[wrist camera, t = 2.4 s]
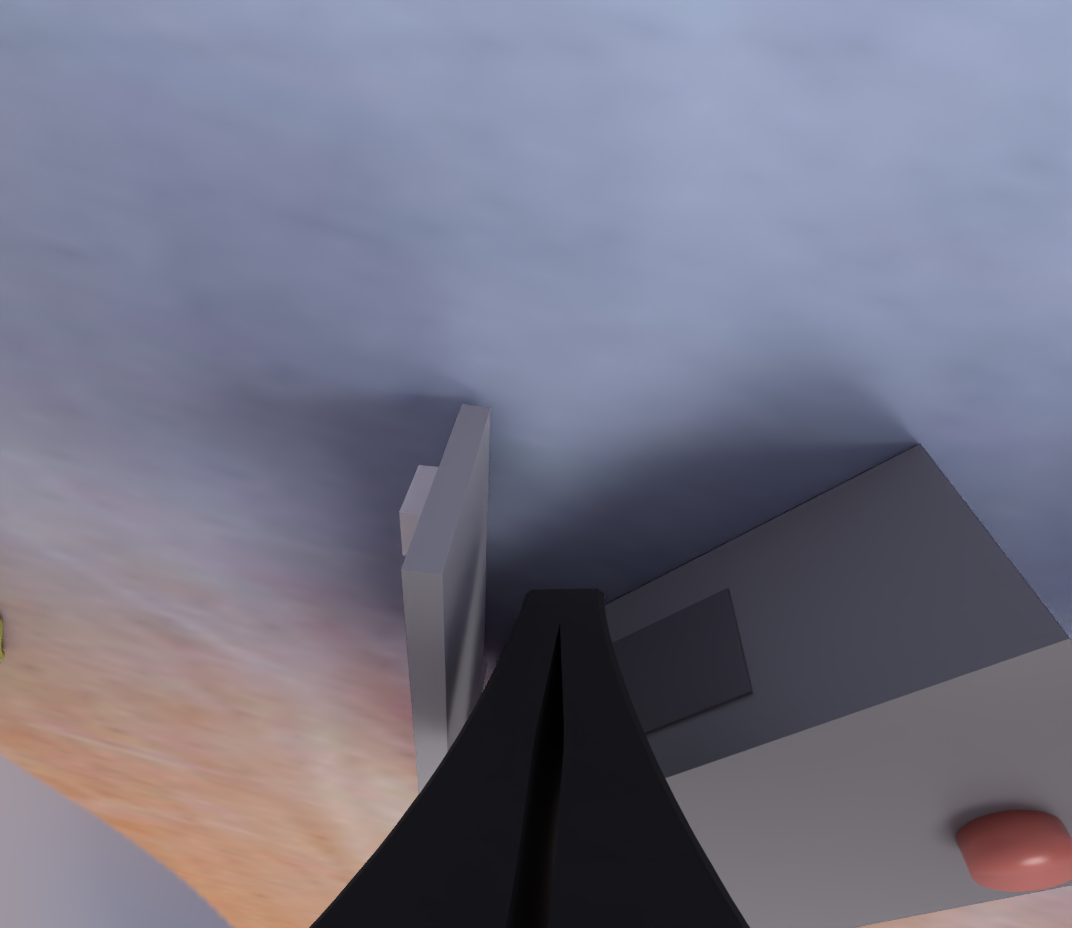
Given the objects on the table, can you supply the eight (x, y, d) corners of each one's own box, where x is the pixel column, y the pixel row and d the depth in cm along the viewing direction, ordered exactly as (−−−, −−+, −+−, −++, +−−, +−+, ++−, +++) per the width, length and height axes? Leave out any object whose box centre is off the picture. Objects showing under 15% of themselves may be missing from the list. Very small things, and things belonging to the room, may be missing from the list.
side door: (437, 401, 13) (365, 566, 9) (495, 407, 13) (449, 575, 9) (444, 667, 18) (401, 848, 14) (486, 672, 18) (454, 854, 14)
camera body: (918, 440, 13) (1095, 672, 8) (1047, 643, 16) (1231, 896, 11) (457, 678, 19) (410, 891, 14) (614, 794, 22) (618, 1001, 17)
